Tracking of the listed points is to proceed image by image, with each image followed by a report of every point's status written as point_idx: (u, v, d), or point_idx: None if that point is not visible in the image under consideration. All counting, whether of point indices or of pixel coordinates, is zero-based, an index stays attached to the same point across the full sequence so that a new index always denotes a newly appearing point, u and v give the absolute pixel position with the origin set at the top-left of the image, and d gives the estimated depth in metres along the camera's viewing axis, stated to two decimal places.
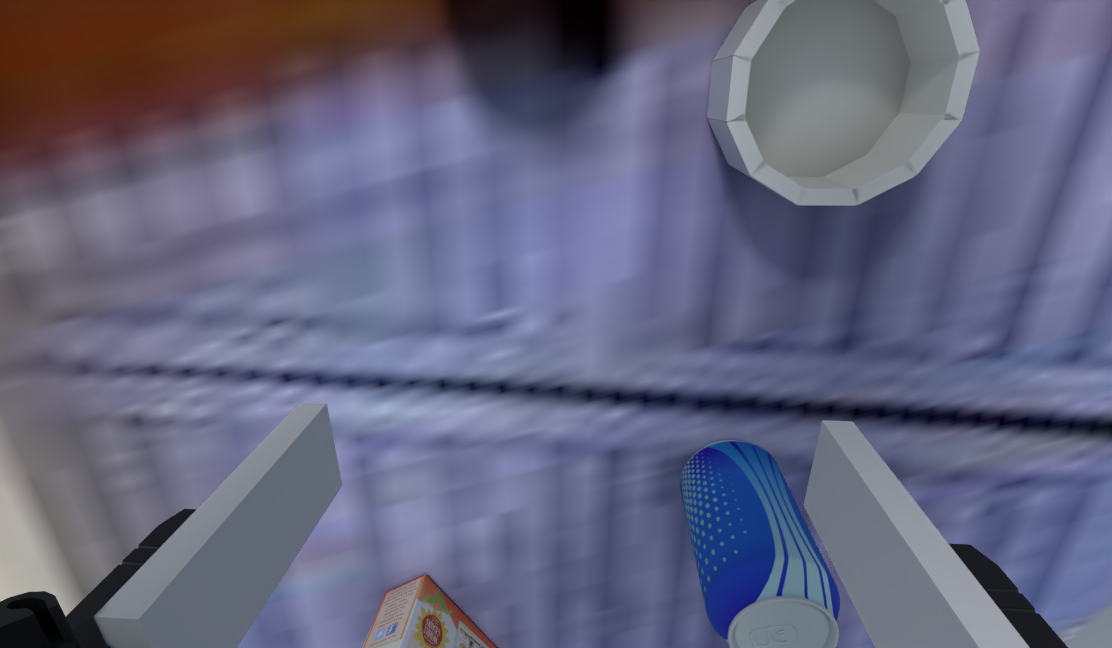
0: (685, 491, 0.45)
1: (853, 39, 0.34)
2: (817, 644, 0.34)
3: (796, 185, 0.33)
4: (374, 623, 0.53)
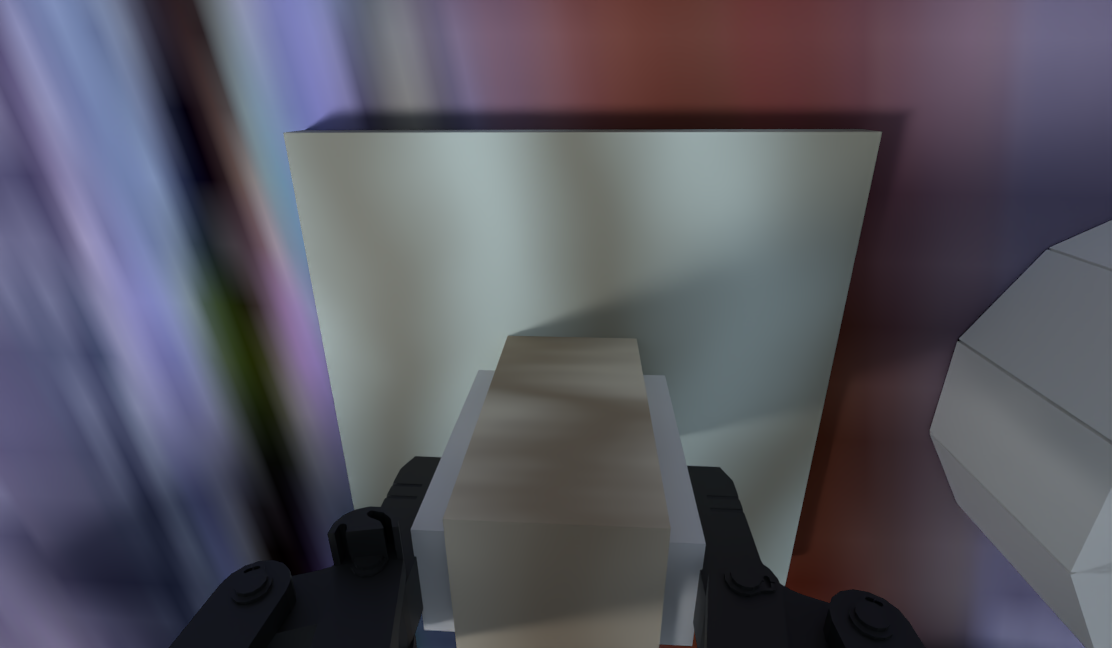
0: None
1: None
2: None
3: None
4: None
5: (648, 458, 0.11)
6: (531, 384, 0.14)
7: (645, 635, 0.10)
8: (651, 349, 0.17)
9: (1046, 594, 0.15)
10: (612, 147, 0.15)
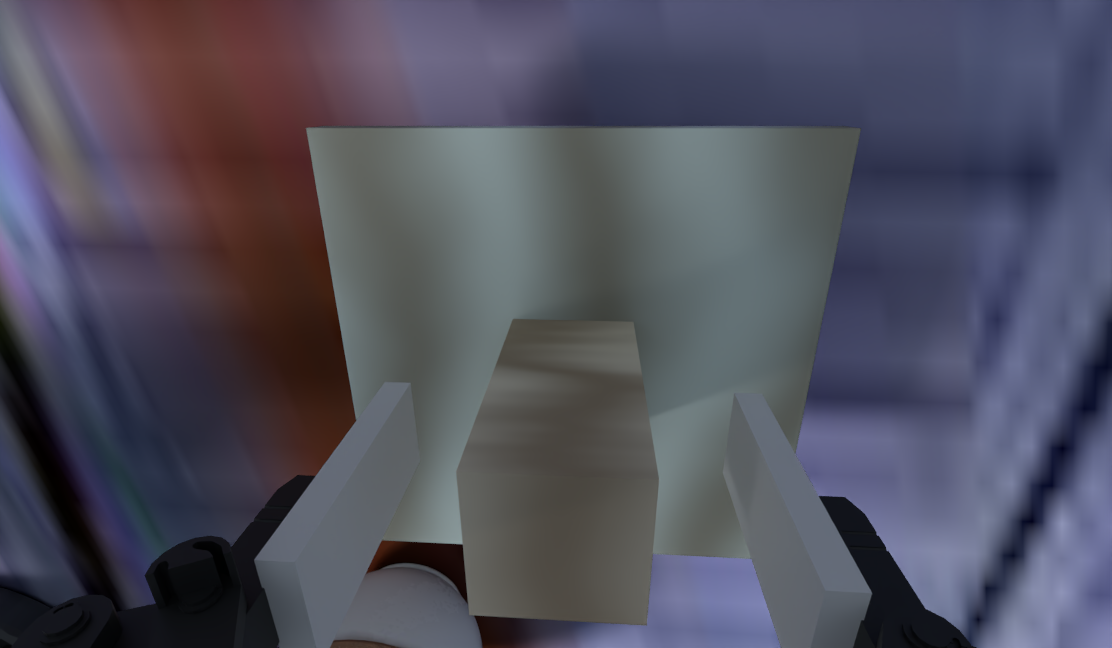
0: None
1: None
2: None
3: None
4: None
5: (641, 423, 0.12)
6: (535, 361, 0.15)
7: (637, 580, 0.12)
8: (647, 332, 0.18)
9: None
10: (611, 142, 0.16)
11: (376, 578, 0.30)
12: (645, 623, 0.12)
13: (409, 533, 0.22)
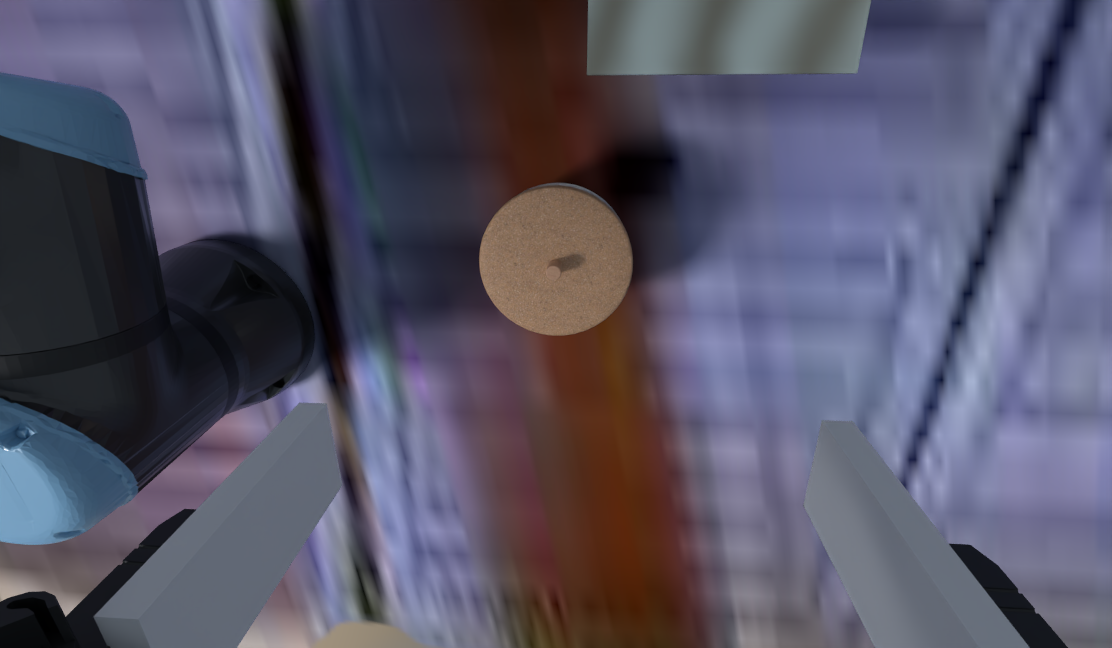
0: None
1: None
2: None
3: None
4: None
5: None
6: None
7: None
8: None
9: None
10: None
11: None
12: None
13: (610, 66, 0.33)
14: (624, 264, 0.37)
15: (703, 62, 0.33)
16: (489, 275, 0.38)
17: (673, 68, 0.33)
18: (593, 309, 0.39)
